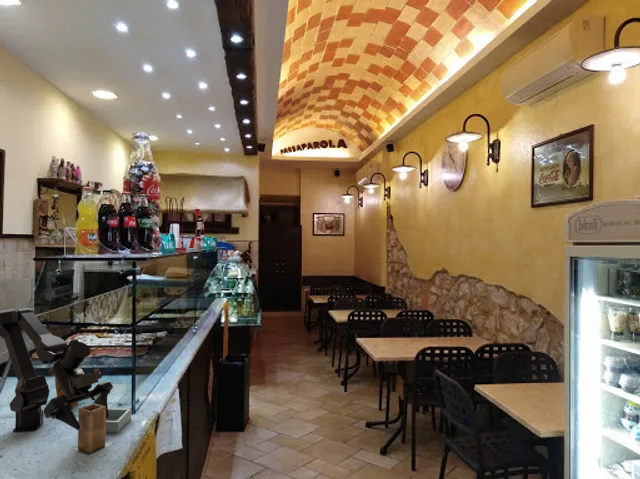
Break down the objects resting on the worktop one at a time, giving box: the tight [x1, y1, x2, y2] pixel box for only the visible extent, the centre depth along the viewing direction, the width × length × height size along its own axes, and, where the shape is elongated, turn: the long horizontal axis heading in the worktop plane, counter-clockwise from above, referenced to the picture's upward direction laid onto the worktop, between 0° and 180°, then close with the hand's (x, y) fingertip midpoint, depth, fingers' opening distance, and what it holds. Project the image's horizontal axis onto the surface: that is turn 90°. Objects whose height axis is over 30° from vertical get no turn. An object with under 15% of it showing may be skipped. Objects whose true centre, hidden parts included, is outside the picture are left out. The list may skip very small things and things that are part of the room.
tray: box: [106, 408, 132, 434], centre depth 146 cm, size 11×11×4 cm
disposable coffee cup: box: [52, 367, 85, 409], centre depth 164 cm, size 10×10×12 cm
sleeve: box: [77, 402, 107, 452], centre depth 132 cm, size 5×5×11 cm
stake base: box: [69, 440, 114, 456], centre depth 132 cm, size 8×8×5 cm
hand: (93, 423), depth 132 cm, fingers open, 9 cm apart
